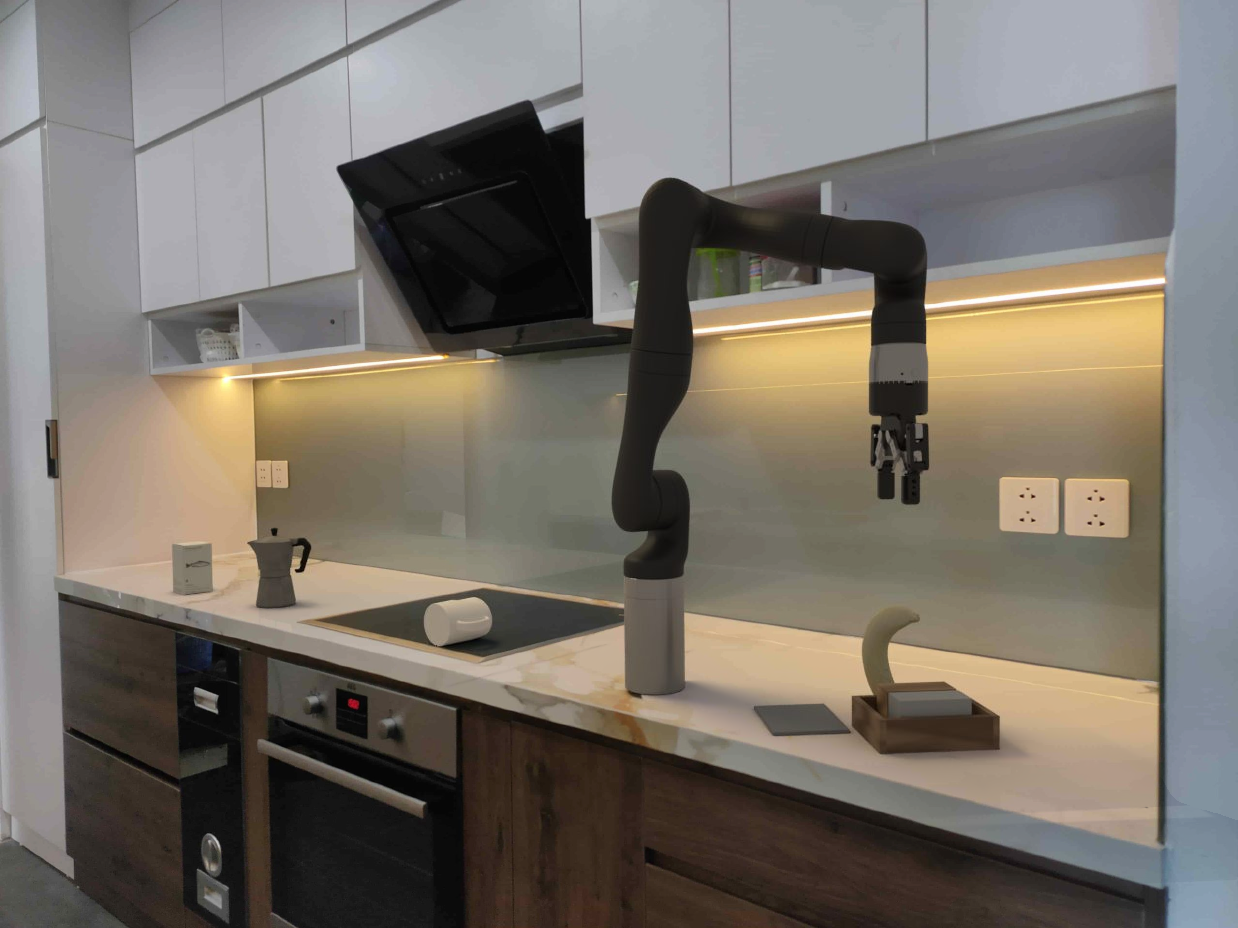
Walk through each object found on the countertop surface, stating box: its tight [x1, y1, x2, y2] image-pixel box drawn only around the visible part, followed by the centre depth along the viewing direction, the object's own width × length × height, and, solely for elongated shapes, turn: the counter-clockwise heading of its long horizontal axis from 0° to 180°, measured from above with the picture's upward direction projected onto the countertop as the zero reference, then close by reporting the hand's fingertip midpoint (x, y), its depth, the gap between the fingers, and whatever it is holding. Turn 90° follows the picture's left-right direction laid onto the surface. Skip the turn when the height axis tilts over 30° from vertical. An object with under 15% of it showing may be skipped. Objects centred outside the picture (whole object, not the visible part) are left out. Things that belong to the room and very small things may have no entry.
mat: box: [753, 702, 851, 737], centre depth 116 cm, size 11×10×1 cm
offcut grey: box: [888, 689, 973, 718], centre depth 107 cm, size 4×9×6 cm, turn 94°
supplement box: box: [171, 540, 214, 596], centre depth 222 cm, size 7×7×13 cm
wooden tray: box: [851, 692, 1001, 755], centre depth 109 cm, size 10×15×4 cm
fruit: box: [861, 604, 921, 695], centre depth 119 cm, size 7×15×3 cm
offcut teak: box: [877, 681, 958, 718], centre depth 111 cm, size 4×9×6 cm, turn 94°
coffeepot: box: [247, 527, 312, 609], centre depth 204 cm, size 15×9×18 cm, turn 85°
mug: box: [423, 596, 493, 647], centre depth 164 cm, size 12×9×8 cm
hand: (897, 501), depth 116 cm, fingers open, 8 cm apart
